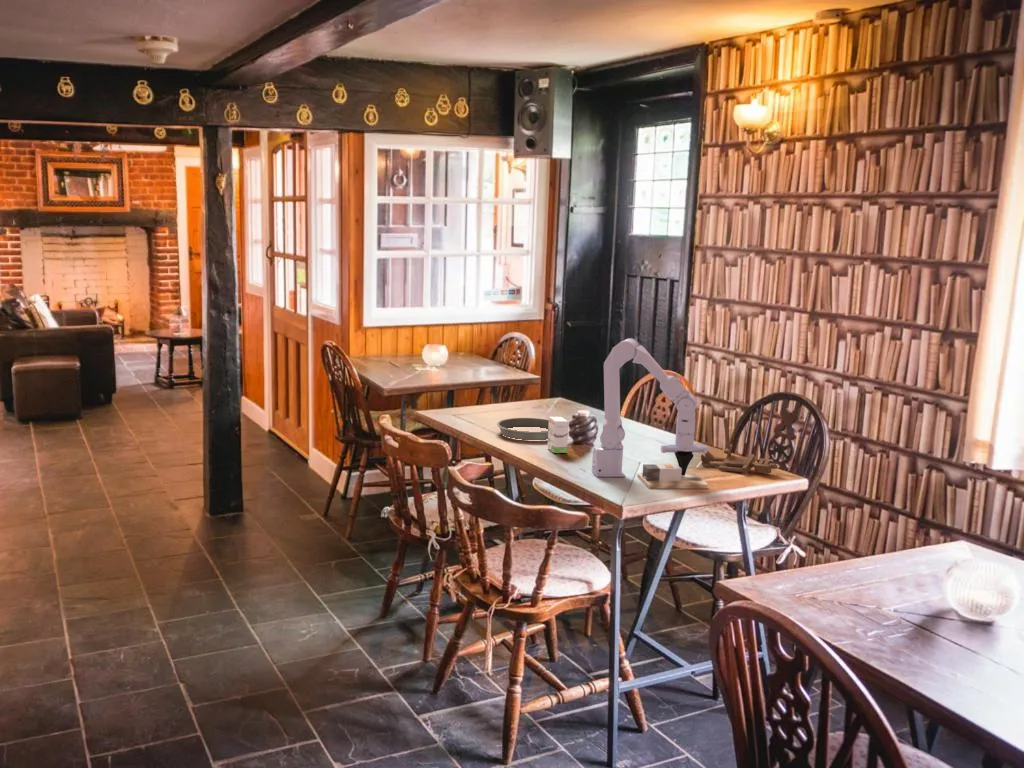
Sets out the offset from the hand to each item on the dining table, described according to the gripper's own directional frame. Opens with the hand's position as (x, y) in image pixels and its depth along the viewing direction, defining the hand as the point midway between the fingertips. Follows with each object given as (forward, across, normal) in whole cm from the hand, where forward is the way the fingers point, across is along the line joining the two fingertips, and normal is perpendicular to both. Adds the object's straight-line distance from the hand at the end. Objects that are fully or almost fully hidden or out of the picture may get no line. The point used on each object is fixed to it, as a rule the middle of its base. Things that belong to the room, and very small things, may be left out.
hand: (682, 474), depth 300 cm
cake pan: (+3, -39, +65) cm, 76 cm away
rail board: (+2, -3, 0) cm, 4 cm away
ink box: (+3, -33, +40) cm, 52 cm away
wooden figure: (+3, +24, +14) cm, 28 cm away
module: (+1, -5, 0) cm, 5 cm away
